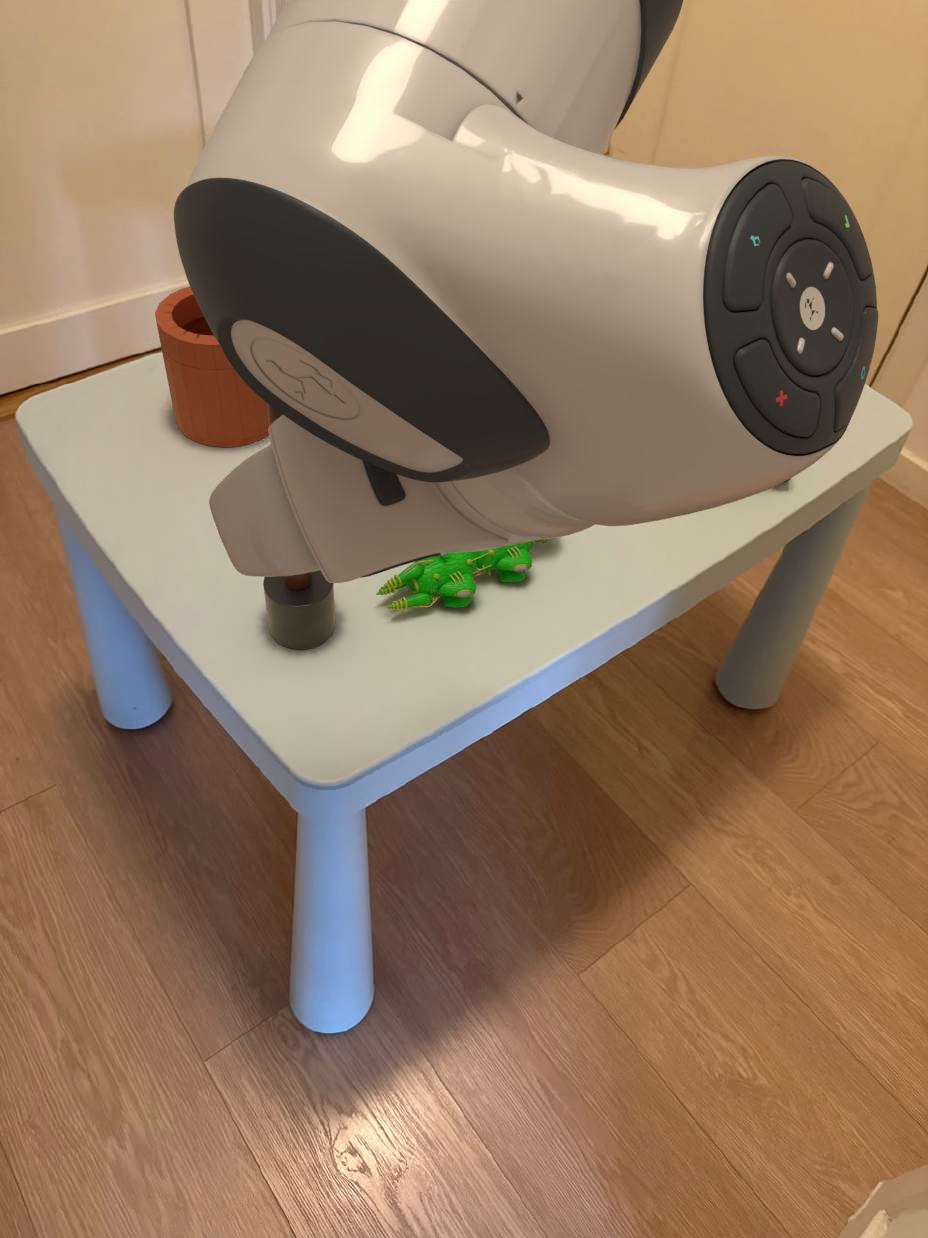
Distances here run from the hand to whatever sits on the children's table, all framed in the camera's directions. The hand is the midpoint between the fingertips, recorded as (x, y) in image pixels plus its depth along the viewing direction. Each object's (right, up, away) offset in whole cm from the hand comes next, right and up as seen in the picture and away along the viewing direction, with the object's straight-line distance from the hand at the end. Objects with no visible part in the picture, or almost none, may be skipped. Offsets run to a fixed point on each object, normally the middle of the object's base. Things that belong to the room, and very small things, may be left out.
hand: (379, 481), depth 49 cm
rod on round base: (-8, -8, +24) cm, 27 cm away
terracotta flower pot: (-18, +13, +41) cm, 47 cm away
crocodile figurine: (+5, -3, +29) cm, 30 cm away
